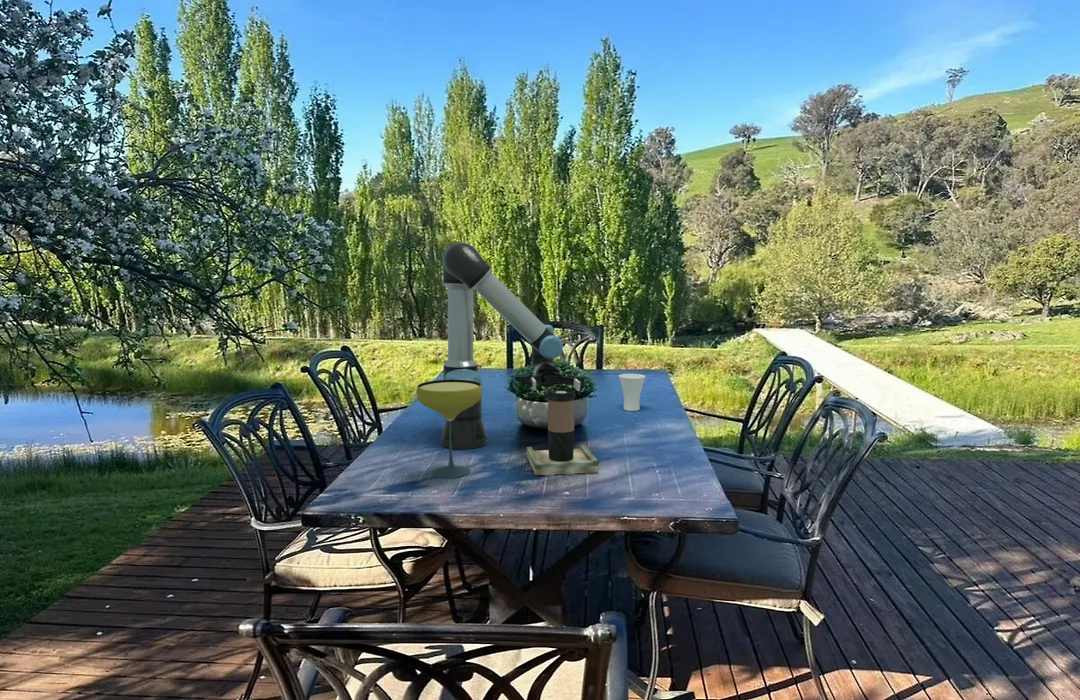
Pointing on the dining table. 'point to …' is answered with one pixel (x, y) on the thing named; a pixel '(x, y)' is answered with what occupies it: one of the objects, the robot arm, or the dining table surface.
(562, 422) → the travel mug
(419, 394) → the cocktail glass
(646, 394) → the dining table surface
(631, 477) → the dining table surface
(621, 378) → the cup
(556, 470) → the tray
